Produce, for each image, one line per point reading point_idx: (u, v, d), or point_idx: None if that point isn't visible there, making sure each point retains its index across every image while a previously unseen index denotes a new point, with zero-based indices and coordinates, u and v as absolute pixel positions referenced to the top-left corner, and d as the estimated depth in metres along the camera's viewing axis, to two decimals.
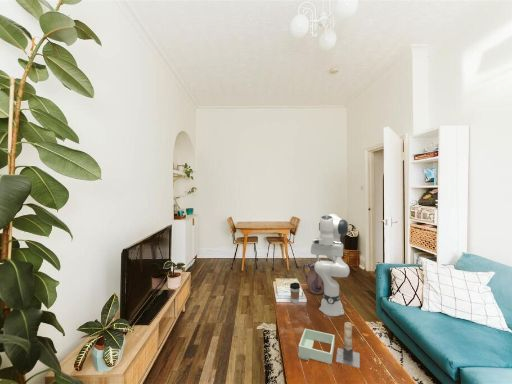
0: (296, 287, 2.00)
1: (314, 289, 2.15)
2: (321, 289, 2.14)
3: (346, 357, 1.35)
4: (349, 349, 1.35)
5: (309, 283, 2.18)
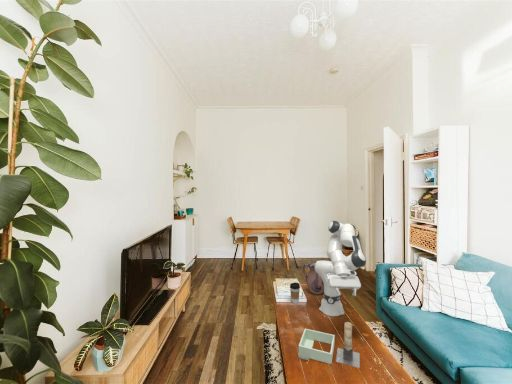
0: (296, 287, 2.00)
1: (314, 289, 2.15)
2: (321, 289, 2.14)
3: (346, 357, 1.35)
4: (349, 349, 1.35)
5: (309, 283, 2.18)
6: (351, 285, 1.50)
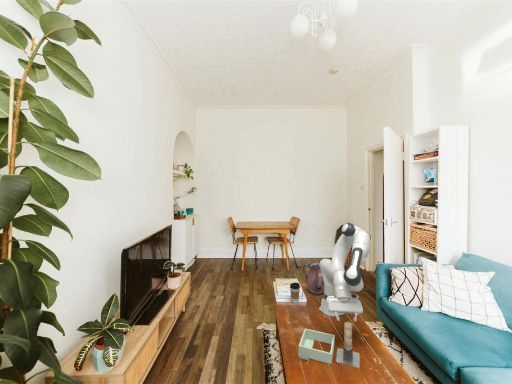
0: (296, 287, 2.00)
1: (314, 289, 2.15)
2: (321, 289, 2.14)
3: (346, 357, 1.35)
4: (349, 349, 1.35)
5: (309, 283, 2.18)
6: (351, 310, 1.45)
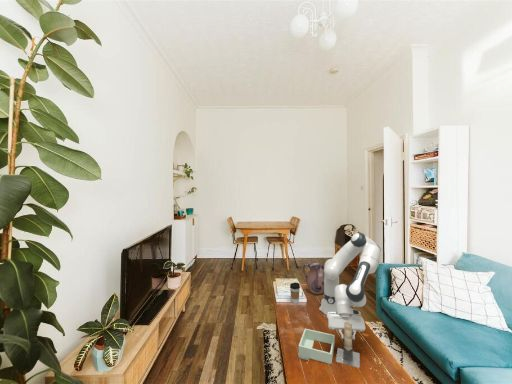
0: (296, 287, 2.00)
1: (314, 289, 2.15)
2: (321, 289, 2.14)
3: (346, 357, 1.35)
4: (349, 349, 1.35)
5: (309, 283, 2.18)
6: (353, 327, 1.38)
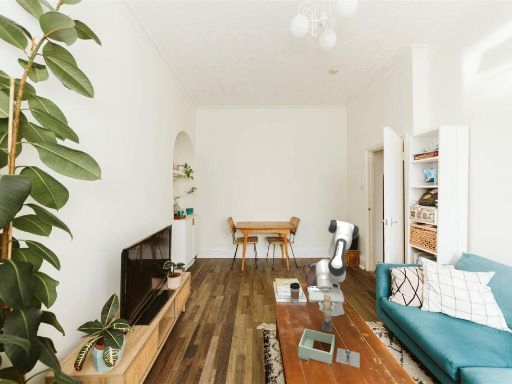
0: (296, 287, 2.00)
1: None
2: None
3: (325, 328, 1.39)
4: (328, 320, 1.38)
5: (309, 283, 2.18)
6: (332, 300, 1.42)
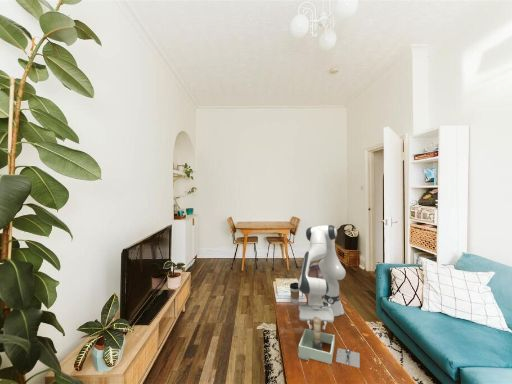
0: (296, 287, 2.00)
1: None
2: None
3: None
4: (318, 342, 1.41)
5: None
6: (322, 318, 1.44)
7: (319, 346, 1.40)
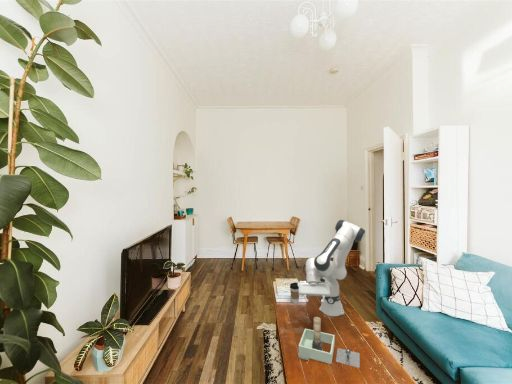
0: (296, 287, 2.00)
1: None
2: None
3: None
4: (318, 342, 1.41)
5: None
6: (319, 293, 1.57)
7: (319, 346, 1.40)
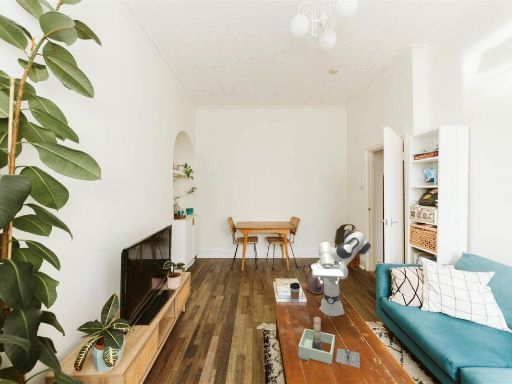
0: (296, 287, 2.00)
1: (314, 289, 2.15)
2: (321, 289, 2.14)
3: None
4: (318, 342, 1.41)
5: (309, 283, 2.18)
6: (333, 275, 1.55)
7: (319, 346, 1.40)
